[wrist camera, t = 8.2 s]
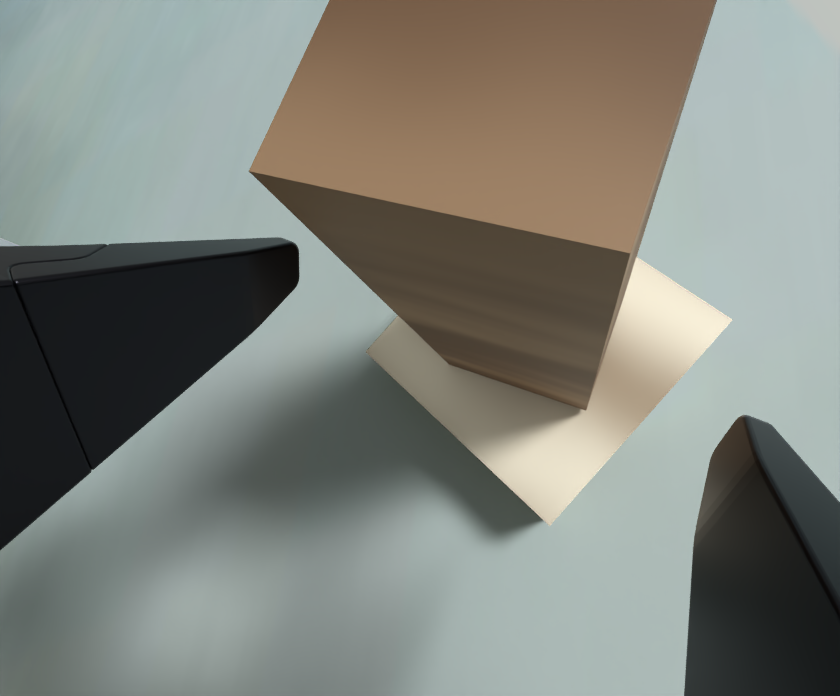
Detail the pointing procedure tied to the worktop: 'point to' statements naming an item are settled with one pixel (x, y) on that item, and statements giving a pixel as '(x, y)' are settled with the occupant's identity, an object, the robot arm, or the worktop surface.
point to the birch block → (552, 420)
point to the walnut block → (489, 166)
